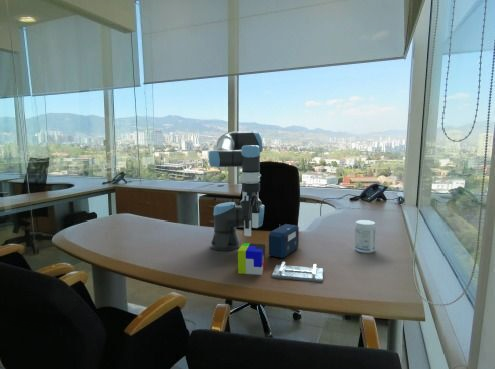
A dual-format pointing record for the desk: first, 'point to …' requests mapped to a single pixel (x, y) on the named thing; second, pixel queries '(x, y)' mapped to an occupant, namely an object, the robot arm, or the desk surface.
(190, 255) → the desk surface
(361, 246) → the supplement tub
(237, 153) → the robot arm
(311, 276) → the rail plate
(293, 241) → the radio
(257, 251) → the puzzle toy
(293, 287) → the desk surface
